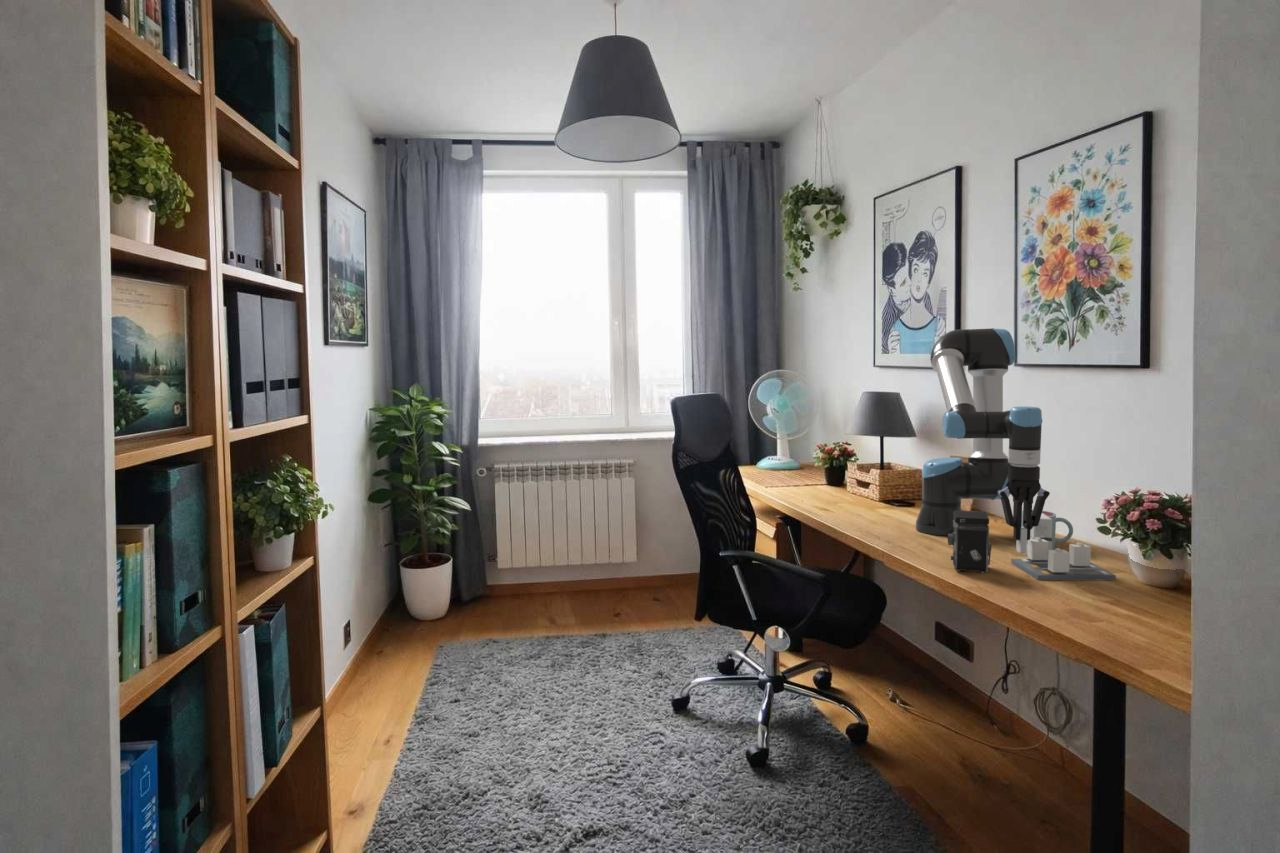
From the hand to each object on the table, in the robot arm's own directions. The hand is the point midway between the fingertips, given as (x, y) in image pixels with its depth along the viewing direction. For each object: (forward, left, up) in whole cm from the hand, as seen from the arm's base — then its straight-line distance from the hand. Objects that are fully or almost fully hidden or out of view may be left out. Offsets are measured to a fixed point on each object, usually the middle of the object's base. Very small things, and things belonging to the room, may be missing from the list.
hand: (1021, 551), depth 198 cm
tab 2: (+11, +4, -2) cm, 12 cm away
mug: (-18, +15, -4) cm, 24 cm away
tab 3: (+5, +12, -2) cm, 14 cm away
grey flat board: (+5, +8, -4) cm, 10 cm away
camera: (+2, -15, -4) cm, 15 cm away
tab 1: (0, +4, -2) cm, 5 cm away
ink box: (-9, +8, -4) cm, 13 cm away
